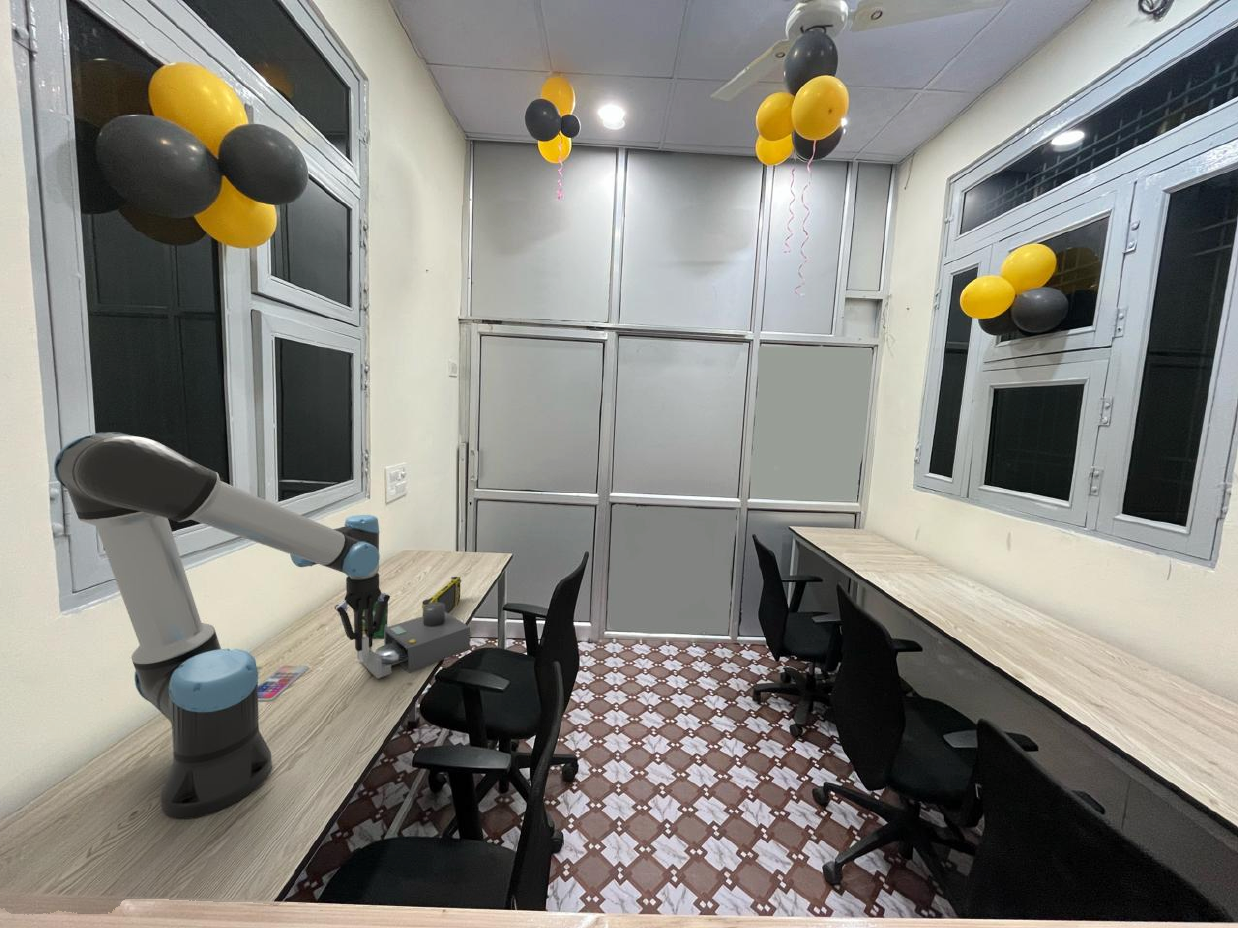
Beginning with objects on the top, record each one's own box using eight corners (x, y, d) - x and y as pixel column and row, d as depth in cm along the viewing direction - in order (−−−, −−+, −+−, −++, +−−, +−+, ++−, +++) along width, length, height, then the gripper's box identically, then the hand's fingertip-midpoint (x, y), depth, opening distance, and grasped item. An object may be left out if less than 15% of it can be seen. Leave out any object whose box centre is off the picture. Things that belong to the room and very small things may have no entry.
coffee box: (388, 634, 141) (388, 594, 140) (385, 638, 138) (385, 597, 137) (361, 635, 140) (361, 594, 139) (357, 639, 137) (357, 598, 136)
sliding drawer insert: (377, 678, 116) (377, 660, 115) (357, 658, 125) (357, 641, 124) (441, 654, 129) (442, 638, 128) (419, 637, 138) (419, 622, 137)
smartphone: (311, 665, 121) (272, 699, 106) (311, 668, 121) (272, 703, 106) (282, 664, 121) (239, 699, 106) (282, 668, 121) (239, 702, 106)
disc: (382, 667, 119) (382, 661, 119) (369, 655, 124) (369, 649, 124) (414, 656, 125) (414, 649, 125) (400, 645, 131) (400, 639, 130)
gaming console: (432, 632, 144) (433, 602, 143) (420, 632, 144) (420, 602, 143) (463, 601, 169) (463, 575, 168) (452, 600, 169) (452, 575, 168)
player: (409, 672, 121) (409, 630, 120) (384, 650, 131) (384, 611, 130) (469, 649, 134) (470, 610, 133) (442, 631, 145) (443, 595, 144)
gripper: (340, 584, 110) (341, 675, 112) (394, 572, 120) (395, 656, 122) (329, 576, 115) (331, 664, 117) (383, 565, 124) (383, 646, 127)
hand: (364, 660), depth 119 cm, fingers closed
